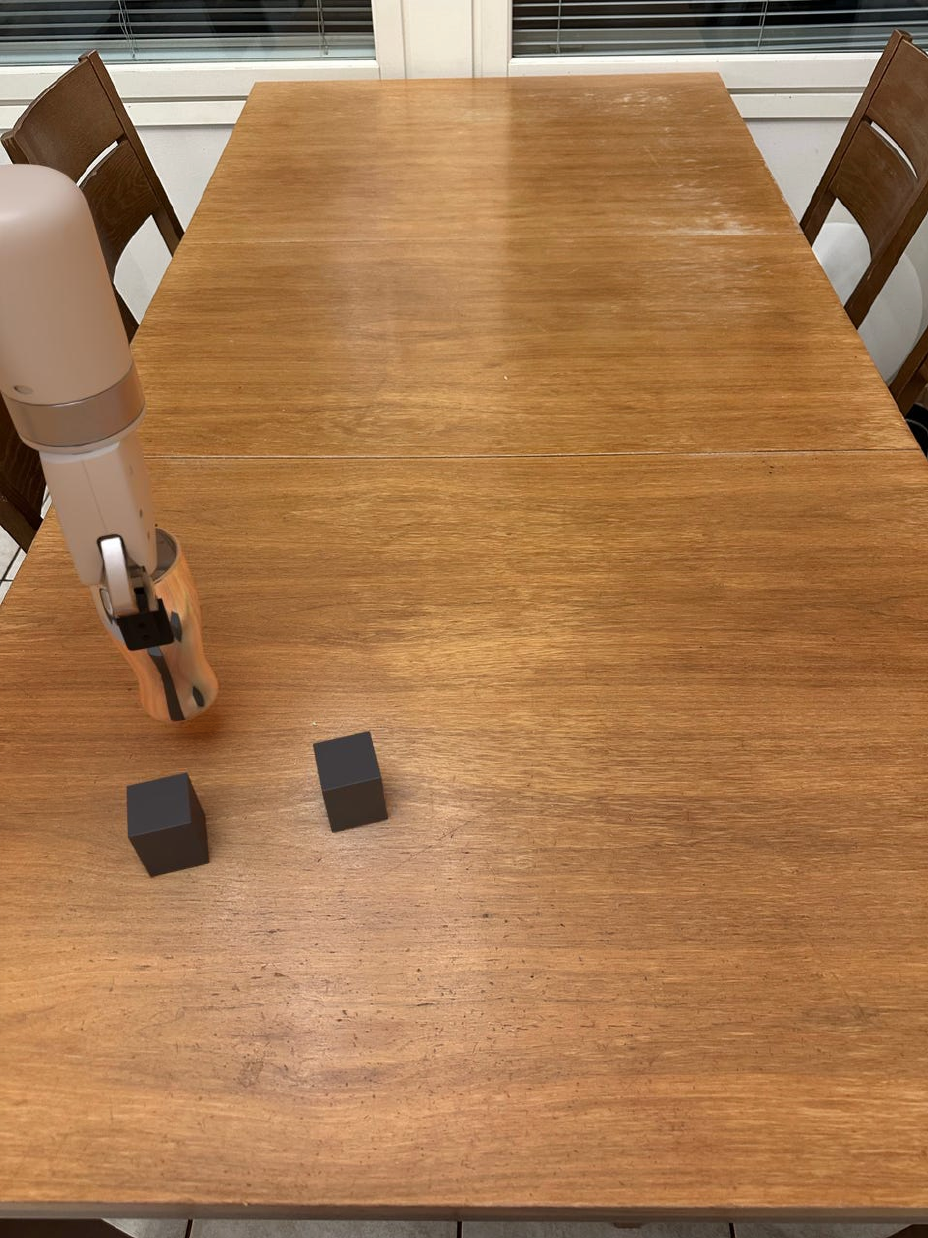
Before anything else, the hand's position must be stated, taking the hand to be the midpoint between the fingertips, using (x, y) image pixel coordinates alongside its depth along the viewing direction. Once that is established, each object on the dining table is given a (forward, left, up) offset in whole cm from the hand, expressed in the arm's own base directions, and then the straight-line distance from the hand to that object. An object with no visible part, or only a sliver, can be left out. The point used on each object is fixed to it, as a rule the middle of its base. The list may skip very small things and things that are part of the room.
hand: (149, 604), depth 68 cm
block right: (+12, -10, -16) cm, 22 cm away
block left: (-2, -10, -16) cm, 19 cm away
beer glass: (0, 0, -10) cm, 10 cm away
